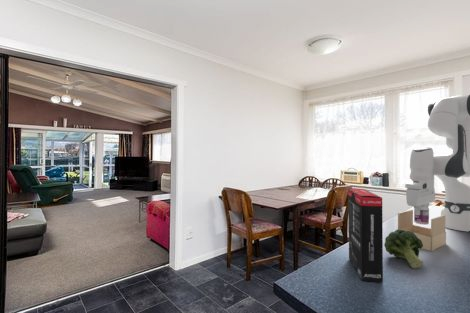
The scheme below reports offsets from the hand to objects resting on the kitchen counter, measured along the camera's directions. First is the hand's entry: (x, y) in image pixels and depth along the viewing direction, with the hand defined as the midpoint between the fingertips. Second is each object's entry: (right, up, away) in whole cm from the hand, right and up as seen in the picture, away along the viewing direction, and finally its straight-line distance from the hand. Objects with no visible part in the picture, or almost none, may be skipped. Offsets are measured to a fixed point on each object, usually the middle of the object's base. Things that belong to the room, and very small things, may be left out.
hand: (421, 213), depth 111 cm
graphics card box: (-40, -14, -27) cm, 50 cm away
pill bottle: (0, -5, 0) cm, 4 cm away
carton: (0, -13, 0) cm, 13 cm away
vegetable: (-21, -14, -19) cm, 31 cm away
